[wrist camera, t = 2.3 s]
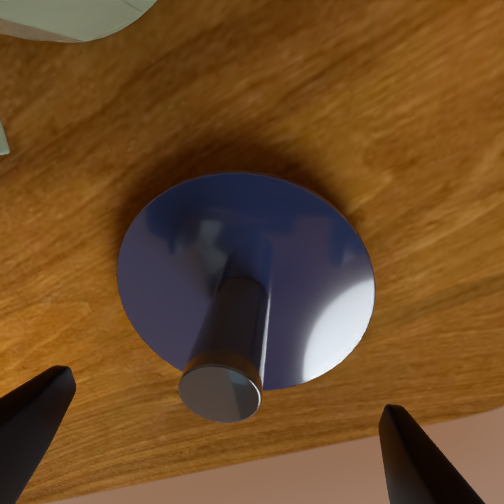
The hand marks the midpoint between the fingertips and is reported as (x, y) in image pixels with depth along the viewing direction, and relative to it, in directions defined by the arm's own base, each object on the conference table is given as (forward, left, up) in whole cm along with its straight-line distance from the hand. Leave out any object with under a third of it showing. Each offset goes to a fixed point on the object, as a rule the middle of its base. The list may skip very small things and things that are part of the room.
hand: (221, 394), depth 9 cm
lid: (0, 0, -5) cm, 5 cm away
